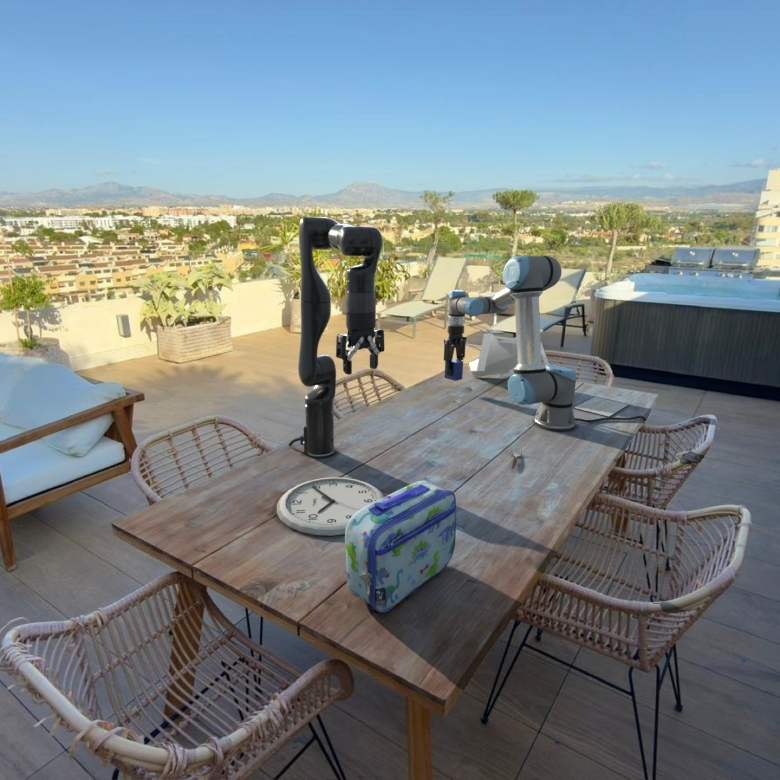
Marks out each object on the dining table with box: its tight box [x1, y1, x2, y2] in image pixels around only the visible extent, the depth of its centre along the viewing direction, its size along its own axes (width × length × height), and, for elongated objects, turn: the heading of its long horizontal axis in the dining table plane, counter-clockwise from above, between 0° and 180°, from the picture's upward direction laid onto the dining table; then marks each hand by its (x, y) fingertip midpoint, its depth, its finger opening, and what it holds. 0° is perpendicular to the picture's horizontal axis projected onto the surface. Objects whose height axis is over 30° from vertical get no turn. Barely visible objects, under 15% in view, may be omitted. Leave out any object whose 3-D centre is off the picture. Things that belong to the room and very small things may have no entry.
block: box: [444, 358, 464, 382], centre depth 243 cm, size 5×7×9 cm
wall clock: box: [276, 476, 386, 537], centre depth 142 cm, size 30×2×30 cm
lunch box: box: [344, 480, 457, 614], centre depth 109 cm, size 26×11×21 cm, turn 135°
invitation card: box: [573, 396, 629, 418], centre depth 226 cm, size 21×1×15 cm
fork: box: [511, 445, 523, 470], centre depth 172 cm, size 3×16×2 cm, turn 160°
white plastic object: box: [468, 333, 550, 378], centre depth 259 cm, size 37×45×31 cm
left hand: (360, 371), depth 137 cm, fingers open, 8 cm apart
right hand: (453, 374), depth 244 cm, fingers closed on block, 5 cm apart
